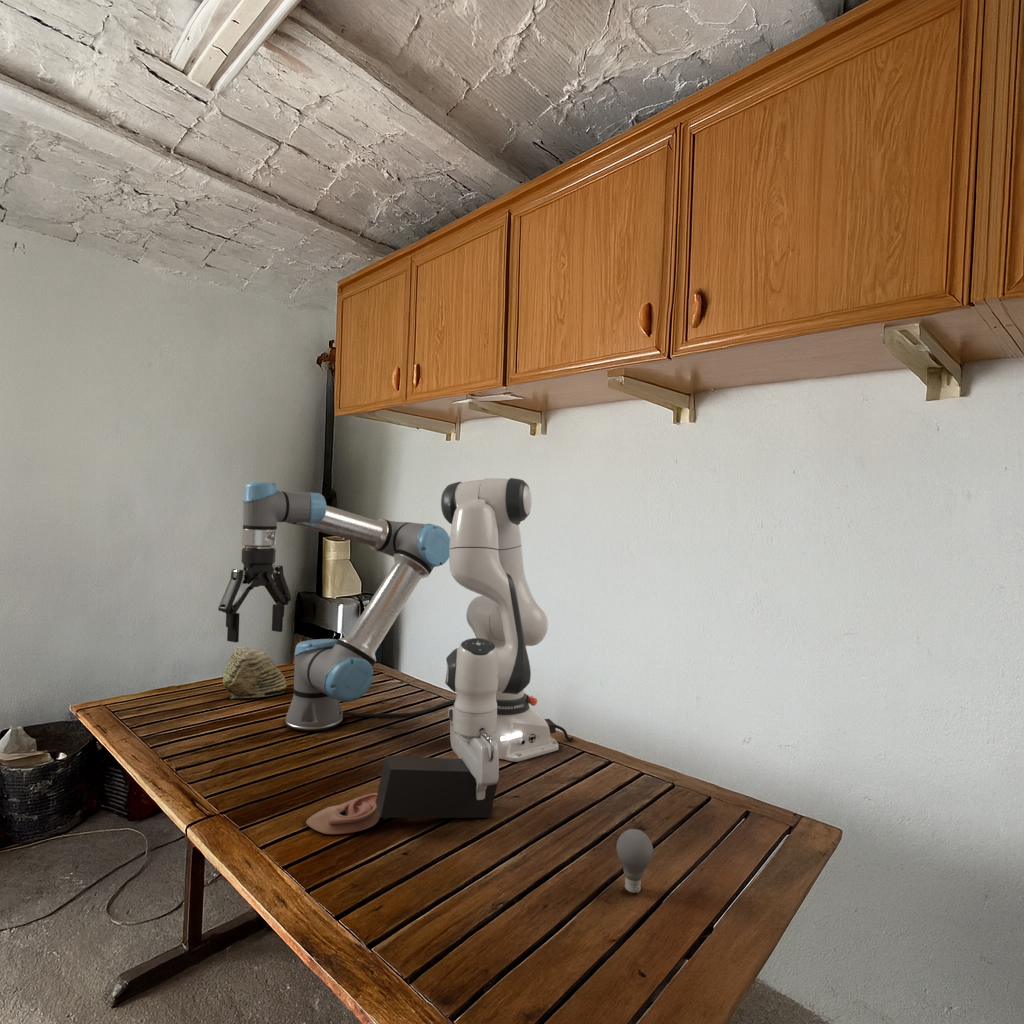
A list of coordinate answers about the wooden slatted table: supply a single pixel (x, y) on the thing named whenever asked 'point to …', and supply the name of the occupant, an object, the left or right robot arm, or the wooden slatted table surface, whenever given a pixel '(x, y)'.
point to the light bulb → (634, 857)
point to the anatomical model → (346, 816)
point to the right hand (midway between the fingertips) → (472, 788)
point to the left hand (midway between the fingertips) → (255, 636)
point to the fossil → (252, 674)
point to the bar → (430, 789)
